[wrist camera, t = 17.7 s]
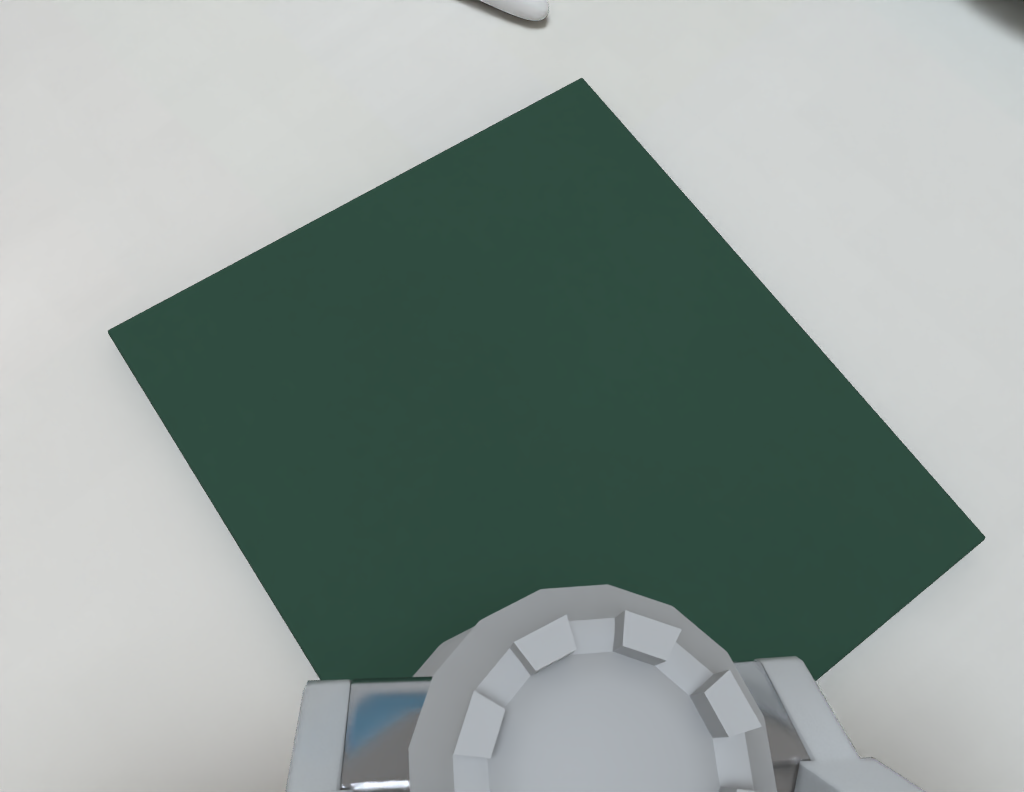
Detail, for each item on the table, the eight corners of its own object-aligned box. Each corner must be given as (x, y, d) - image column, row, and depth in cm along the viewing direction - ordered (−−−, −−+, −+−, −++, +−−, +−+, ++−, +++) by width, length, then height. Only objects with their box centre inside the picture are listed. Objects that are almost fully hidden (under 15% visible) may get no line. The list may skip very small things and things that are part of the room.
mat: (972, 543, 27) (986, 537, 26) (487, 948, 22) (489, 955, 22) (578, 91, 32) (582, 76, 32) (114, 341, 27) (106, 330, 27)
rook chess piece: (698, 866, 14) (993, 999, 7) (420, 962, 13) (398, 1235, 6) (610, 589, 16) (769, 441, 8) (355, 661, 15) (272, 571, 7)
